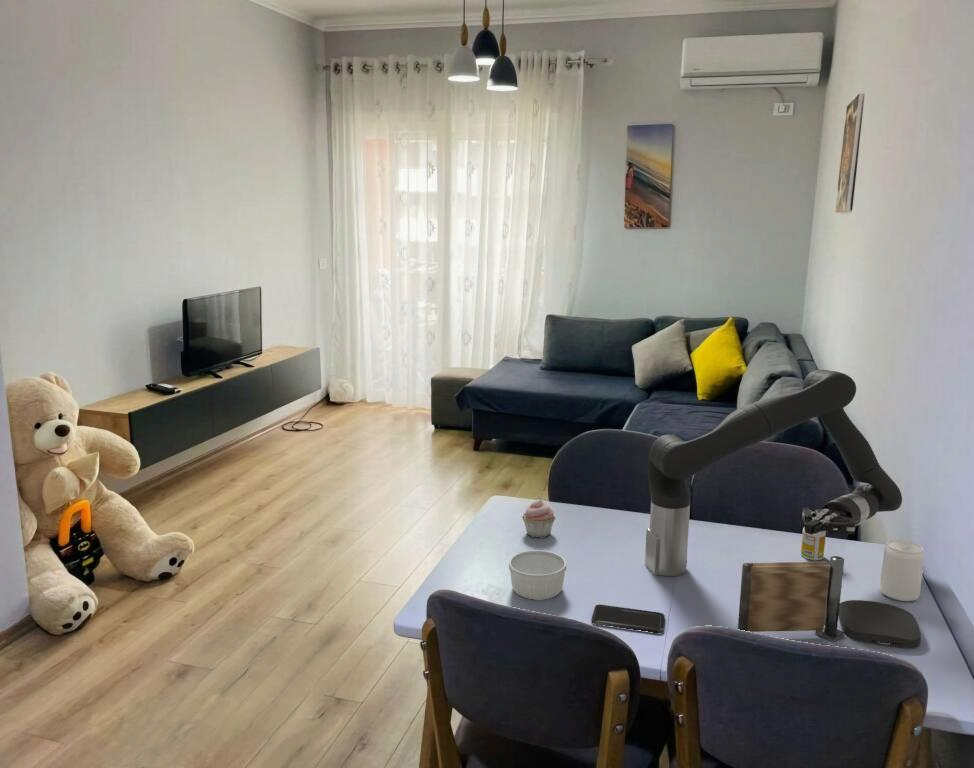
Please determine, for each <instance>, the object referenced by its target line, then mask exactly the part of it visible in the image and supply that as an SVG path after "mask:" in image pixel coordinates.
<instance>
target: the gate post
mask: <svg viewBox="0 0 974 768" xmlns="http://www.w3.org/2000/svg"><path fill="white" fill-rule="evenodd" d="M829 565H830V572H829V579H828V588H827V598H826V608H825V618H824V627H823V630H818V631H815V633H814V634H815V635H816V636H818V637H821V638H823V639H826V640H828V641H830V642H832V643H835V642H837V641H838V640H840V639H841V638H842V637H844V635H845V634H844V632H843V630H840V629H838V623H839V622H838V621H839V616H838V615H839V606H840V603H841V595H842V587H843V586H842V585H843V577H844V576H843V575H844V569H845V568H844V567H845V558H843V557H841V556H839V555H838V556H837V555H832V556H830V559H829Z"/></svg>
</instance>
